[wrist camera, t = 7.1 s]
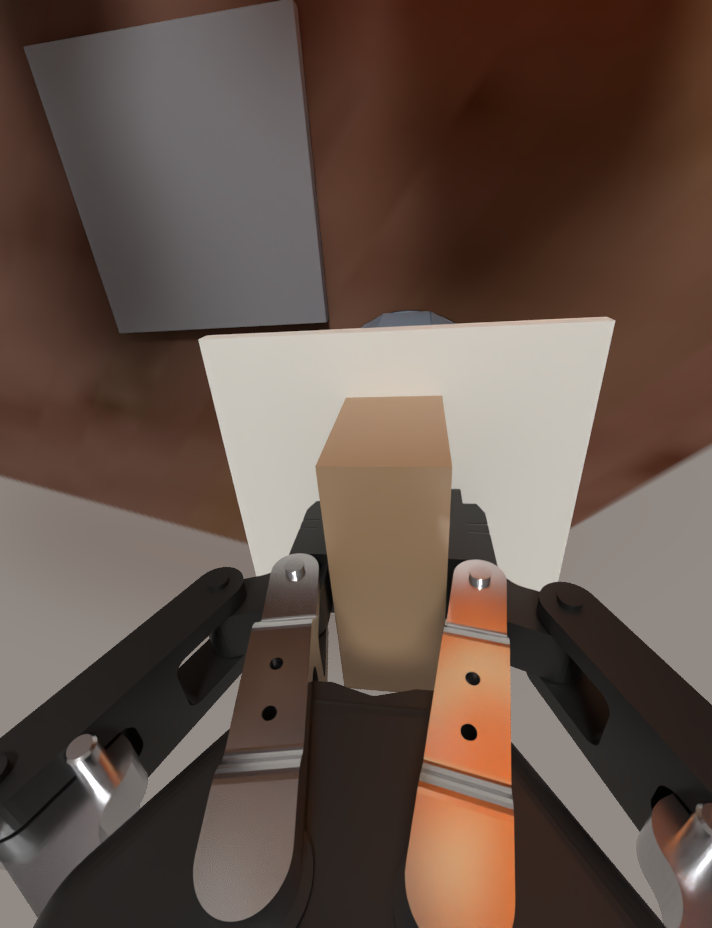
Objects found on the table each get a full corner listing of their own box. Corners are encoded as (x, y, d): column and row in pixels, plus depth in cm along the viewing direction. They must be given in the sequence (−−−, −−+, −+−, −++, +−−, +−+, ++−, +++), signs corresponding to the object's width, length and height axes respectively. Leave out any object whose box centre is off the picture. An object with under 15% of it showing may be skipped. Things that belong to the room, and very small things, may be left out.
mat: (297, 7, 18) (292, -2, 17) (329, 319, 24) (326, 322, 23) (37, 53, 20) (23, 46, 19) (127, 330, 26) (119, 333, 25)
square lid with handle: (606, 316, 12) (721, 367, 7) (543, 616, 17) (586, 746, 13) (206, 335, 13) (102, 385, 9) (269, 601, 19) (224, 712, 15)
